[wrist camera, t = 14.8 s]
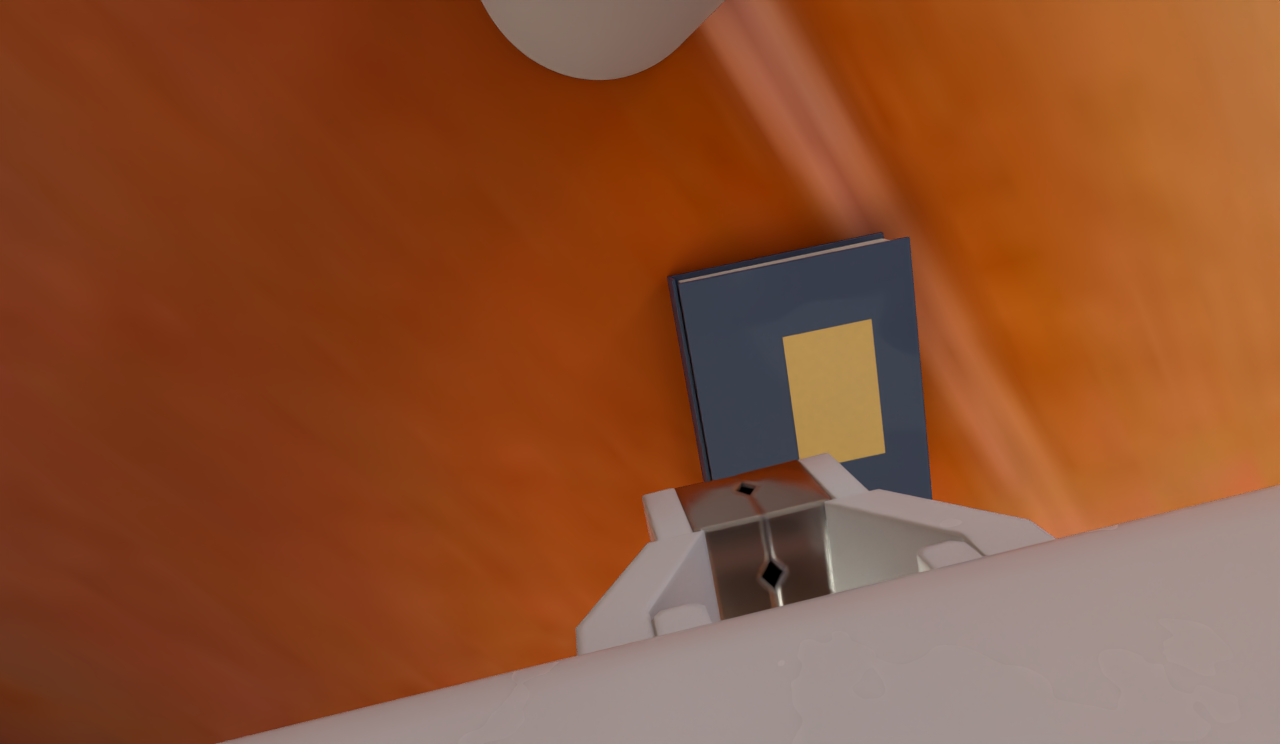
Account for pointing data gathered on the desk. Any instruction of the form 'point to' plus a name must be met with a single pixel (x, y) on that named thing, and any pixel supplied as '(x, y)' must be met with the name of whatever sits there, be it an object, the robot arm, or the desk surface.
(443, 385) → the desk surface
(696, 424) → the book
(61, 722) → the desk surface
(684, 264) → the desk surface
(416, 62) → the desk surface
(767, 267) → the book cover
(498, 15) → the cylinder vase
